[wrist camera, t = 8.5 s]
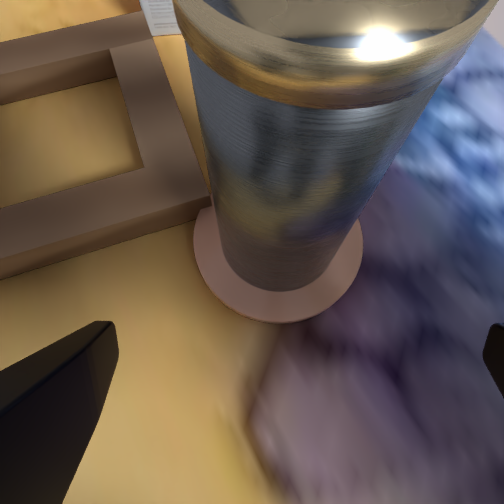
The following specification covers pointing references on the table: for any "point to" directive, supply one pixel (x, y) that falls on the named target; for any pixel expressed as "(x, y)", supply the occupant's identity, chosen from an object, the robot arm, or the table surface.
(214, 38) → the tea tin
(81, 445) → the robot arm
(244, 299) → the coaster
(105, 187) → the pocket frame
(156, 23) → the skincare box
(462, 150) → the table surface
